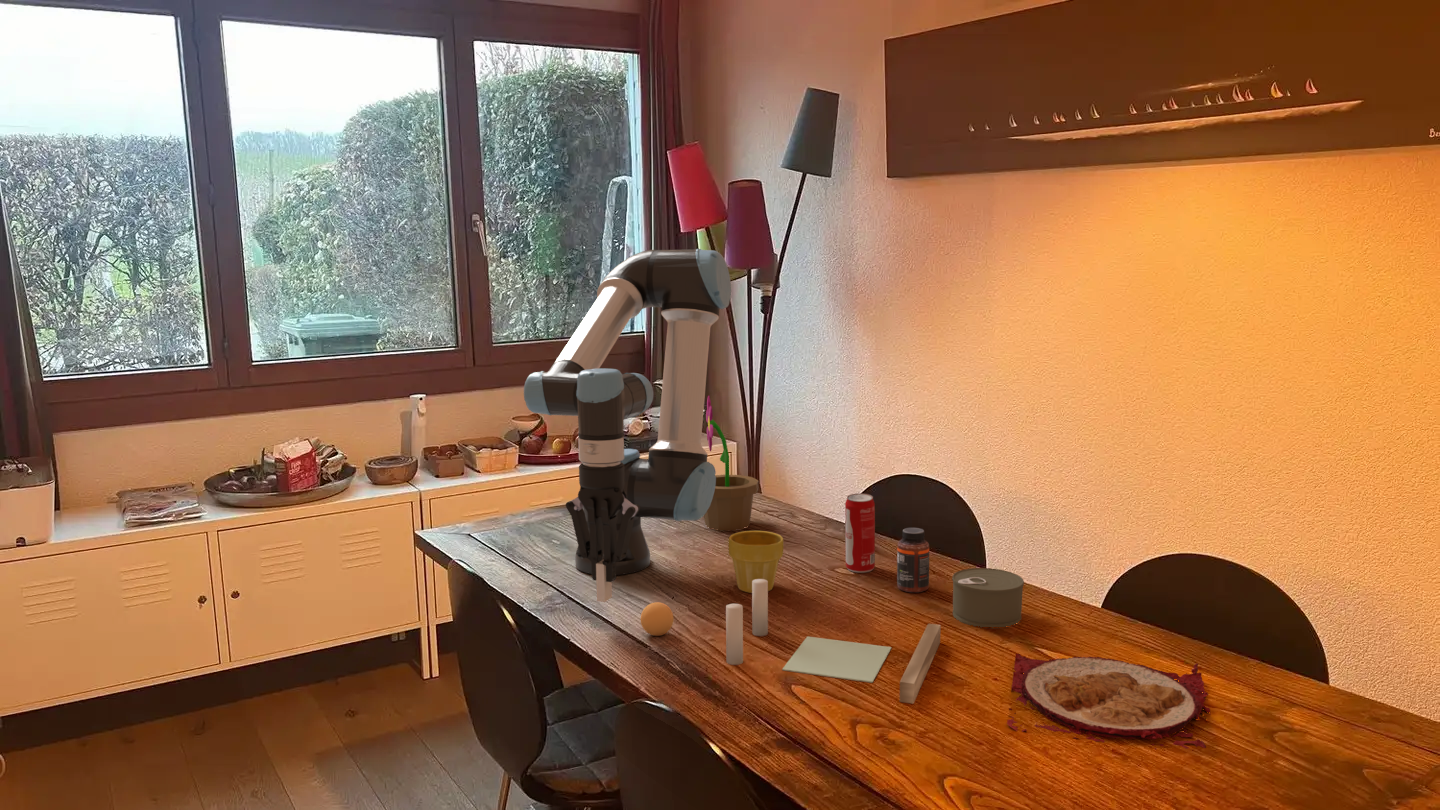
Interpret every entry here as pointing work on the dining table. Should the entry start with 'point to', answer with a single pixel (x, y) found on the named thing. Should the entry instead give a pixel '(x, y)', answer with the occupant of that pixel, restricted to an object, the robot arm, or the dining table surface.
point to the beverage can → (860, 533)
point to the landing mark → (838, 659)
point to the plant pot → (755, 557)
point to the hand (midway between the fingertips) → (604, 599)
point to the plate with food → (1110, 697)
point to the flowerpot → (728, 490)
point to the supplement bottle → (913, 561)
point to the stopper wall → (919, 664)
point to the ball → (657, 619)
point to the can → (987, 597)
